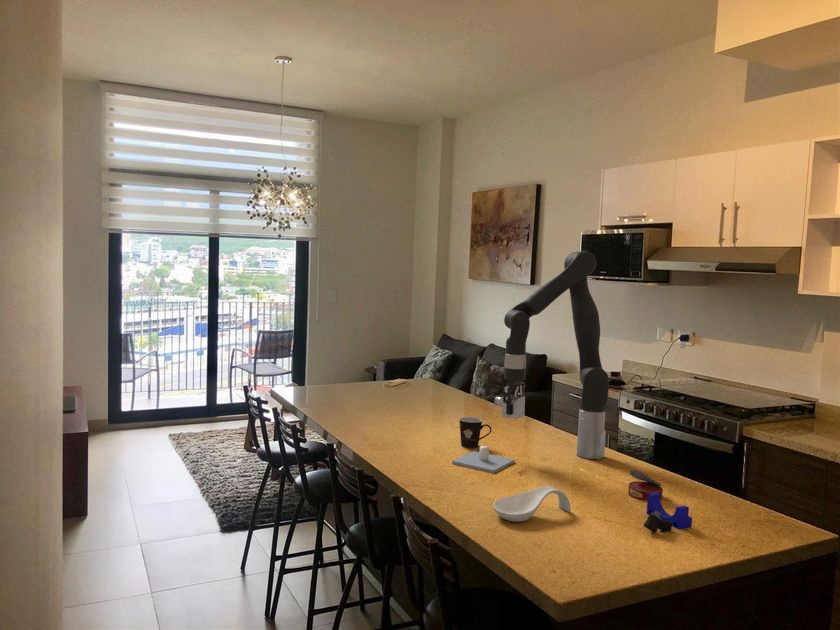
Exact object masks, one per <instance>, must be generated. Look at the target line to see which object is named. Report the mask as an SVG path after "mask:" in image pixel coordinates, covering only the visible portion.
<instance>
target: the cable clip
mask: <svg viewBox="0 0 840 630" xmlns="http://www.w3.org/2000/svg"><path fill="white" fill-rule="evenodd" d="M646 503H647V504H646V515H648V516H649V514H650V513H653V514H654V512H655V511H657V512H659V513H661V514H660V516H659V517H661V520H669V521H671V522H672V523H673V524H672V528H674V529H675V530H676V529H677V530H679V531H680V530H687V529H691V528H692V524H693V517H692V516H690V515H689V511H690V509H689V508H690V507H689V506H687V505H678V506H677V505H676V507H675V511H674V513H673V514H672V515H671V514H669V513H668V512H667V511H666V510H665V509H664V507H663V504H662V501H661V500H660V494H658V493H649V494H648V501H646Z"/></svg>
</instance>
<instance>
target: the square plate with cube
mask: <svg viewBox="0 0 840 630" xmlns="http://www.w3.org/2000/svg"><path fill="white" fill-rule="evenodd" d="M489 452H490V447H489V446H485V445H481V446H479V451H476V450H473V451H470V452H468V453H467V454H464V455H462V456H459V457H456V459H453V460H452V461H451V464H453V465H457V466H459V467H465V468H470V469H474V470H479V471H483V472H486V473H487V472H488V473H492V474H495V473H498V472H499V471H501V470H503V469H504V468H507V467H509V466H510V465H512V464H515V463H516V461H515V459H514V458H510V457H504V456H501V455H495V454H492V453H491V454H490V453H489Z"/></svg>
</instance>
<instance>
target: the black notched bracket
mask: <svg viewBox="0 0 840 630" xmlns="http://www.w3.org/2000/svg"><path fill="white" fill-rule="evenodd" d="M660 514H661V513H659V512H657V511H655V512H654V514H653V513H650V514H649V515H648V517H647V518H646V520H645V522H644V523H643V525H642V526H643V527H645V528H646V529H647V530H649V531H650V532H652V533H653V534H656V533H657V531H658V530H660V531H661V532H664V533H670V532H672V530H673V527H672V524H673V523H672V522H671V521H669V520H661V517H659V516H660Z"/></svg>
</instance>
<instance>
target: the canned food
mask: <svg viewBox="0 0 840 630" xmlns="http://www.w3.org/2000/svg"><path fill="white" fill-rule="evenodd" d="M629 474H630V475H631V477H632V478H635V479H637V480H639V481H631V482H629V483H628V493H627V494H628V496H629V497H631V498H633V499H635V500H638V501H643V502H647V501H648V494H649V493H658V494H660V501H661V500H662V499H663V490H664V489H663V485H662V484H661V483H659V482H658V481H656V480H655V479H653V478H651V477H650V476H648V475H646V474H645V473H643V472H641V471H639V470H637V469H631V470H629Z"/></svg>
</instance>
